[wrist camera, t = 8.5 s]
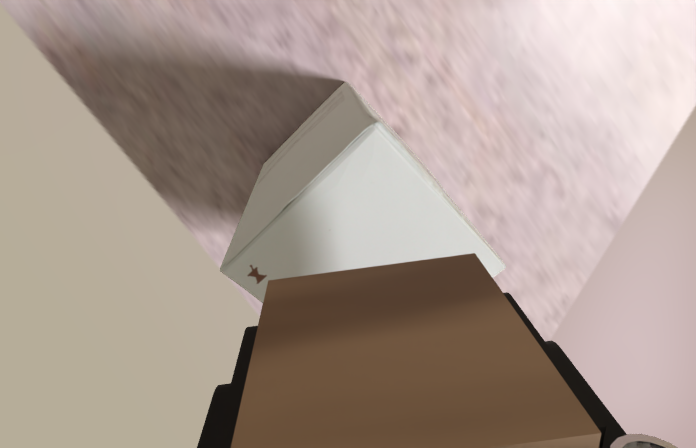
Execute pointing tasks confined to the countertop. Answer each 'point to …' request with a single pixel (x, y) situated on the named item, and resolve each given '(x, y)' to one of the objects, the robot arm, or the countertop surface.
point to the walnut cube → (403, 365)
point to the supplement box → (346, 203)
